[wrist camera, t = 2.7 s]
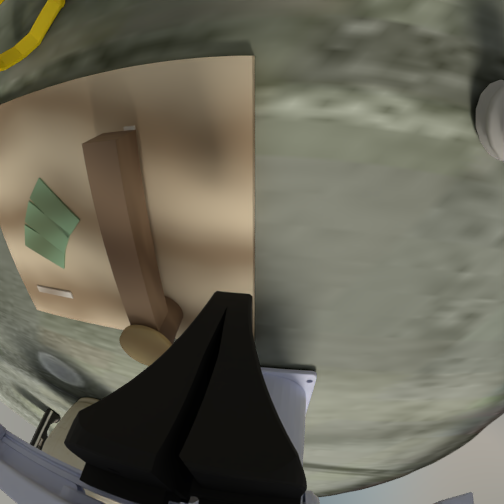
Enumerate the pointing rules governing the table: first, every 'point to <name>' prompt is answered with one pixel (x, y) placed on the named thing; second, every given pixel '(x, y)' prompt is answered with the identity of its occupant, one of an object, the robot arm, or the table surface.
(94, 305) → the tan wooden board
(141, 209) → the peg lever
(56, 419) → the battery charger
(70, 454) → the jug
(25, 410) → the table surface
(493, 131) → the rook chess piece
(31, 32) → the watch
